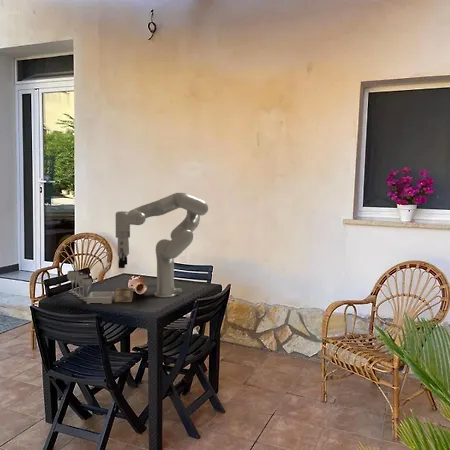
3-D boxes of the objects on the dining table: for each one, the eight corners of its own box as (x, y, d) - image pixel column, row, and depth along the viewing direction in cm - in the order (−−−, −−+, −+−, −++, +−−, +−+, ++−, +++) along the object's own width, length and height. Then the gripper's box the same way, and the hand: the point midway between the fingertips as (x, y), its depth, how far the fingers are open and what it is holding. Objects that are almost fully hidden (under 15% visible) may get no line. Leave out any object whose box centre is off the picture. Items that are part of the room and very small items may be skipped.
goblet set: (94, 300, 243) (93, 276, 242) (83, 302, 240) (83, 277, 238) (76, 290, 265) (75, 267, 264) (66, 291, 262) (65, 269, 260)
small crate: (132, 298, 250) (132, 288, 250) (131, 302, 244) (131, 291, 243) (116, 298, 249) (116, 288, 249) (114, 302, 243) (114, 291, 242)
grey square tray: (114, 297, 252) (114, 291, 252) (111, 303, 240) (111, 297, 240) (91, 297, 251) (91, 291, 251) (86, 303, 239) (86, 297, 238)
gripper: (127, 236, 235) (127, 269, 236) (131, 232, 252) (132, 263, 254) (113, 236, 234) (113, 269, 236) (118, 232, 251) (118, 263, 253)
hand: (122, 266), depth 245 cm, fingers open, 9 cm apart
